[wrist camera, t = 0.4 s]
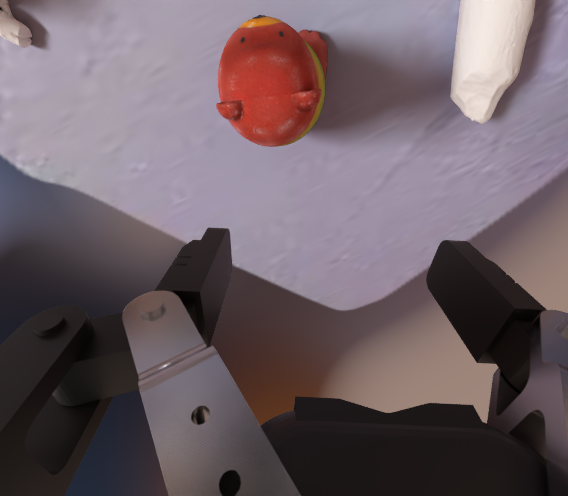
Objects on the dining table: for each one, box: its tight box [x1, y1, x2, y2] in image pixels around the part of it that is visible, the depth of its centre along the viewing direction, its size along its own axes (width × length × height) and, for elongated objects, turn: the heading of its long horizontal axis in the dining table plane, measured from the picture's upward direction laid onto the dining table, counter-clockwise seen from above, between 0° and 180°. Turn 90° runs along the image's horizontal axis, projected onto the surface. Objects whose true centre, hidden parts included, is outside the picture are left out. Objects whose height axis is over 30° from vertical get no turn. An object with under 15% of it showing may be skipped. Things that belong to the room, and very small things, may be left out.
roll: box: [451, 0, 536, 124], centre depth 27 cm, size 6×12×6 cm, turn 10°
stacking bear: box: [216, 15, 327, 147], centre depth 23 cm, size 11×10×18 cm
